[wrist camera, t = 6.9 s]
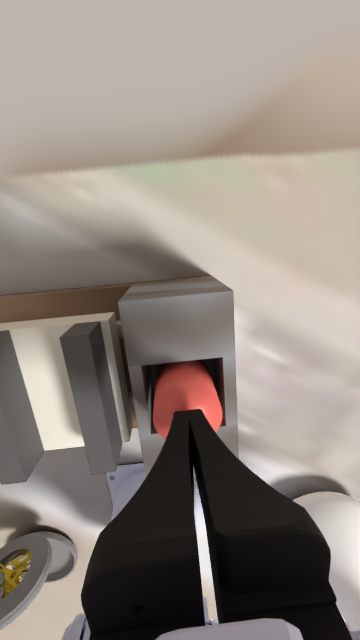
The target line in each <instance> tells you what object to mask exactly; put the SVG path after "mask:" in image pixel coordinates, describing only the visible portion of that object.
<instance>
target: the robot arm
mask: <svg viewBox="0 0 360 640" xmlns="http://www.w3.org/2000/svg"><path fill="white" fill-rule="evenodd" d="M193 466H194V471H195V476H196V480H197V485H198V490H199V494H200V499H201V504H202V508H203V513H204V518H205V524H206V531H207V539H208V546H209V554H210V561H211V569H212V577H213V584H214V592H215V600H216V608H217V616H218V621H217V620H216V619H209V617H208V608H207V599H206V597H203V595H202V585H201V575H200V565H199V555H198V545H197V535H196V531H197V524H196V514H195V504H194V471H193ZM106 476H107V480H108V485H109V490H110V494H111V499H112V504H113V512H112V517H111V522H110V523H109V524H108V525H107V526H106V527H105V528H104V530H103V531H102V532H101V533H100V535H99V537H98V540H97V542H96V544H95V547H94V550H93V552H92V555H91V558H90V561H89V564H88V568H87V571H86V576H85V580H84V584H83V588H82V593H81V601H82V606H83V609H84V613H85V614H78V615H77V616H76V617H75V620H74V621H73V622H72V623H71V624H70V625H69V626H68V627H67V628H66V630H65V632H64V634H63V637H62V640H360V630H357V631H348V629H347V627H346V625H345V622H344V620H343V618H342V616H341V614H340V612H339V610H338V607H337V605H336V602H337V599H336V595H335V593H334V591H333V589H332V587H331V585H330V583H329V572H330V563H331V550H330V548H329V546H328V544H327V542H326V540H325V538H324V536H323V534H322V532H321V531H320V529H319V528H318V526H317V525H316V523H315V522H314V520H313V519H312V517H311V516H310V515H309V513H308V512H307V510H306V509H305V508H304V507H302V506H301V505H299V504H297V503H296V502H294V501H292V500H291V499H289V498H287V497H286V496H284V495H282V494H281V493H279V492H278V491H276V490H275V489H274V488H272V487H271V486H269V485H268V484H267V483H266V482H264V481H263V480H262V479H261V478H259V477H258V476H257V475H255V474H254V473H253V472H252V471H251V470H250V469H249V468H247V467H246V466H245V465H244V464H243V463H242V462H241V461H240V460H239V459H238V458H237V457H236V456H235V455H234V454H233V453H232V452H231V451H230V449H229V448H228V447H227V446H226V445H225V444H224V442H223V441H222V440H221V439H220V437H219V436H218V435H217V433H216V432H215V431H214V429H213V428H212V426H211V425H210V423H209V422H208V420H207V418H206V417H205V415H204V413H203V411H202V410H201V409H192V410H183V411H175V412H174V413H173V419H172V423H171V426H170V429H169V432H168V435H167V437H166V440H165V442H164V445H163V447H162V449H161V451H160V453H159V455H158V458H157V459H156V461H155V463H154V465H153V467H152V468H151V470H150V472H149V473H148V475H147V477H146V474H145V468H144V463H139V464H130V465H121V466H117V469H116V472H109V473H106ZM112 476H114V477H112Z"/></svg>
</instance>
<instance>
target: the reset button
mask: <svg viewBox="0 0 360 640" xmlns="http://www.w3.org/2000/svg"><path fill="white" fill-rule="evenodd" d="M192 409H201V410H202V411H203V413H204V415H205V417H206V418H207V420H208V422H209V423H210V425H211V426H212V428H213V429H214V431H215V432H216V431H217V430H218V428H219V427H220V424H221V421H222V408H221V404H220V402H219V399H218V396H217V393H216V390H215V387H214V384H213V381H212V378H211V375H210V372H209V369H208V367H207V365H206V364H205V363H204V361H202V360H201V359H200V360H190V361H181V362H171V363H162V364H161V365H160V367H159V368H158V371H157V374H156V384H155V396H154V409H153V422H154V426H155V428H156V430H157V432H158V433H159V434H160V435H161V436H162V437H163V438H164V439H165V440H166V437H167V435H168V432H169V429H170V426H171V423H172V419H173V413H174V412H175V411H183V410H192Z"/></svg>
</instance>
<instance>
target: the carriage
mask: <svg viewBox="0 0 360 640" xmlns="http://www.w3.org/2000/svg"><path fill="white" fill-rule="evenodd" d="M132 425H133V420H132V414H131V408H130V402H129V396H128V390H127V384H126V378H125V372H124V366H123V360H122V354H121V348H120V342H119V336H118V330H117V324H116V318H115V312H110V313H100V314H89V315H79V316H69V317H59V318H49V319H39V320H29V321H18V322H8V323H0V483H1V485H2V484H11V483H20V482H26V481H27V479H28V477H29V476H30V474H31V472H32V471H33V469H34V467H35V466H36V464H37V462H38V461H39V459H40V457H41V456H42V454H43V452H44V451H46V450H55V449H64V448H73V447H82V446H85V449H86V453H87V458H88V462H89V466H90V470H91V474H100V473H109V472H116V469H117V464H118V460H119V455H120V451H121V446H122V442H127V441H130V436H131V431H132Z"/></svg>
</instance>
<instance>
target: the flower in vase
mask: <svg viewBox="0 0 360 640" xmlns="http://www.w3.org/2000/svg"><path fill="white" fill-rule="evenodd" d="M292 501H294V502H296V503H297V504H299V505H301V506H302V507H304V508H305V509H306V510H307V512H308V513H309V515H310V516H311V517H312V519H313V520H314V522H315V523H316V525H317V526H318V528H319V529H320V531H321V532H322V534H323V536H324V538H325V540H326V542H327V544H328V546H329V548H330V550H331V563H330V572H329V583H330V585H331V587H332V589H333V591H334V593H335V595H336V599H337V602H336V605H337V607H338V609H339V611H340V612H341V614H342V615H343V617H344V619H345V620H346V622H347V624H348V626H349V627H350V630H351V631H357V630H360V502H359V501H357V500H355V499H353V498H351V497H349V496H347V495H344V494H342V493H337V492H314V493H310V494H306V495H303V496H300V497H298V498H296V499H294V500H292Z"/></svg>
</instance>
